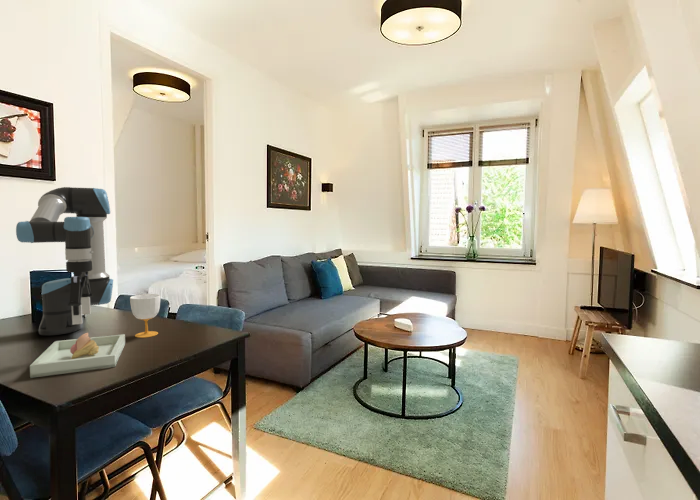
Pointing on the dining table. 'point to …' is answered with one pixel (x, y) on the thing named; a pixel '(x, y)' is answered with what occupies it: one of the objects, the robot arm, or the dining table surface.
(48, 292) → the robot arm
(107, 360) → the tray
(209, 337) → the dining table surface
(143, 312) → the cup
